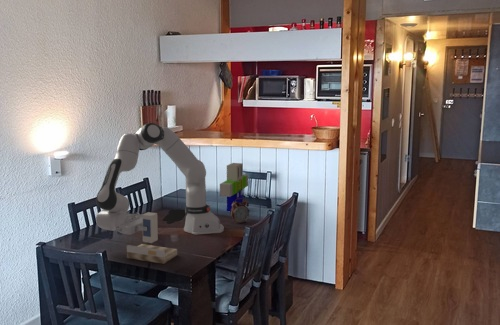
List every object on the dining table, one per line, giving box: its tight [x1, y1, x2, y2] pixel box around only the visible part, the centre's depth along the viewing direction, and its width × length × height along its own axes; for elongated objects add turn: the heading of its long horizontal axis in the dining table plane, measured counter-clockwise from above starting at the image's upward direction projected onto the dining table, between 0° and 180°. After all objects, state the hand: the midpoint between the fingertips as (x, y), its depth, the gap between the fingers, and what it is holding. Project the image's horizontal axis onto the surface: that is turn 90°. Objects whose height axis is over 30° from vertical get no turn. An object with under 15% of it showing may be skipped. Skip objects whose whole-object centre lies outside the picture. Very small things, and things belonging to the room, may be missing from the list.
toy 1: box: [161, 209, 186, 225], centre depth 293 cm, size 12×1×30 cm
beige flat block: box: [126, 243, 178, 264], centre depth 224 cm, size 20×12×6 cm, turn 69°
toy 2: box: [219, 162, 249, 213], centre depth 306 cm, size 34×7×30 cm, turn 161°
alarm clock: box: [229, 197, 250, 225], centre depth 279 cm, size 11×5×15 cm, turn 115°
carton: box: [141, 211, 159, 244], centre depth 222 cm, size 5×5×13 cm
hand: (151, 226), depth 221 cm, fingers closed on carton, 5 cm apart
